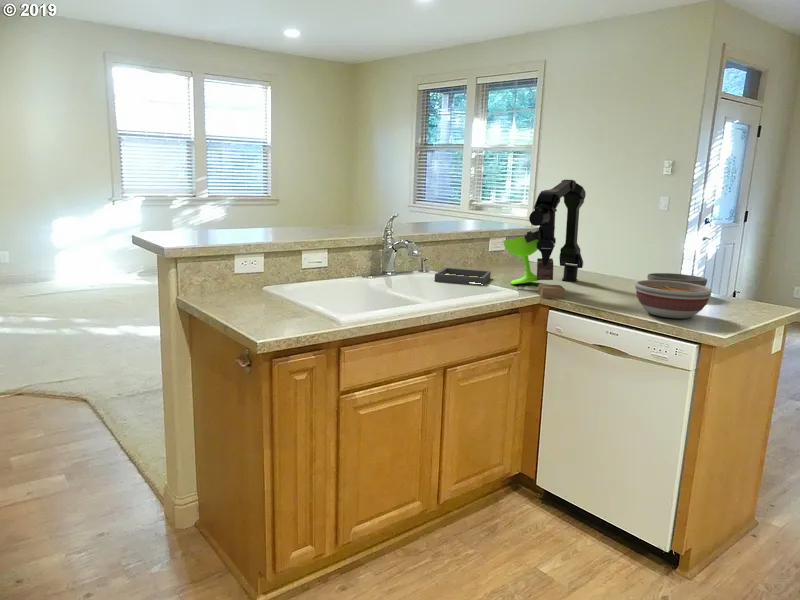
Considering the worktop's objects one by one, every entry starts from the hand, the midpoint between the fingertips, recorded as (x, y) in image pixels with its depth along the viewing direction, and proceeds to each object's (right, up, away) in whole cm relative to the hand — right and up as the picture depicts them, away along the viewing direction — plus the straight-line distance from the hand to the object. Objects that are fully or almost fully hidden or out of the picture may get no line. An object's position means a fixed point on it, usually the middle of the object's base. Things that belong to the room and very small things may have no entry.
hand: (545, 264), depth 238 cm
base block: (-1, -13, -12) cm, 17 cm away
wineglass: (-4, -6, +10) cm, 13 cm away
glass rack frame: (-31, -6, +17) cm, 36 cm away
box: (0, -6, +1) cm, 6 cm away
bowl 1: (+50, -13, 0) cm, 52 cm away
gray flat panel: (-3, -10, +1) cm, 11 cm away
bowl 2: (+32, -19, -37) cm, 53 cm away
